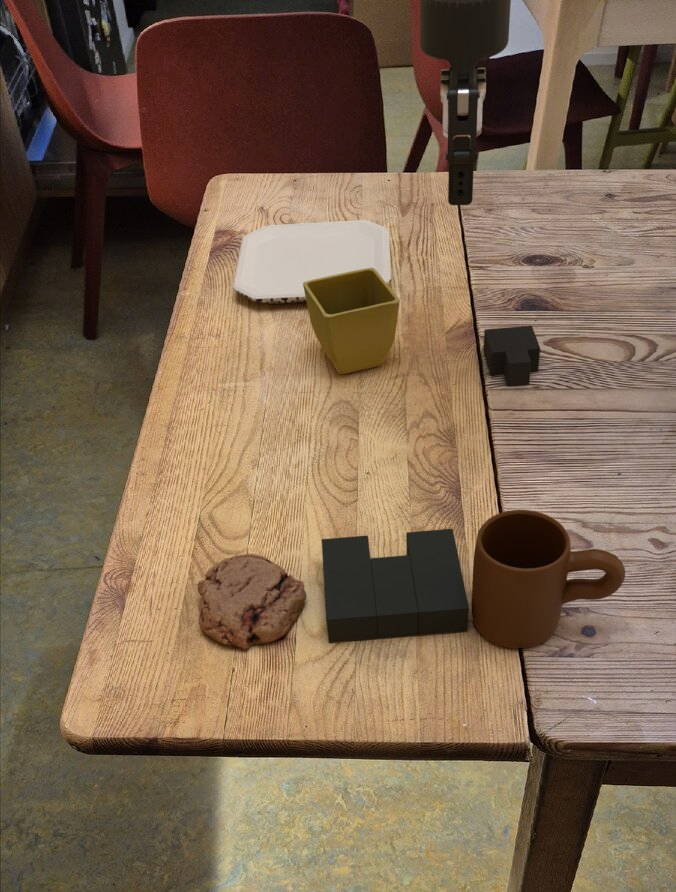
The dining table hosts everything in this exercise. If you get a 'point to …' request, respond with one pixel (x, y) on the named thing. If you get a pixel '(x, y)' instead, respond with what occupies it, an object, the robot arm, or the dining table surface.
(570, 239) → the dining table surface
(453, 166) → the robot arm
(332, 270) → the plate
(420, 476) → the dining table surface
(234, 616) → the cookie
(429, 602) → the base pad
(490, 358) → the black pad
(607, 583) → the mug
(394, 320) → the flower pot
